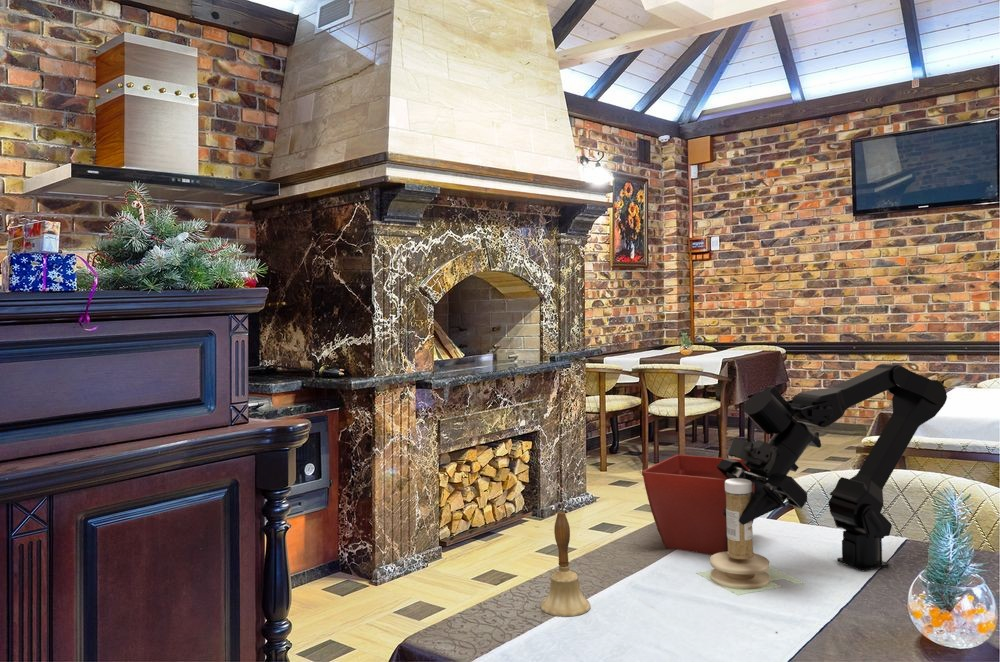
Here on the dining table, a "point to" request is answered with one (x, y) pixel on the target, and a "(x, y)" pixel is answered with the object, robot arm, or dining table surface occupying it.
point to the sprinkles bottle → (735, 505)
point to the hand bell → (564, 579)
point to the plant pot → (689, 502)
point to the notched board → (773, 575)
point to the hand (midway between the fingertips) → (732, 519)
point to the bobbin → (739, 571)
